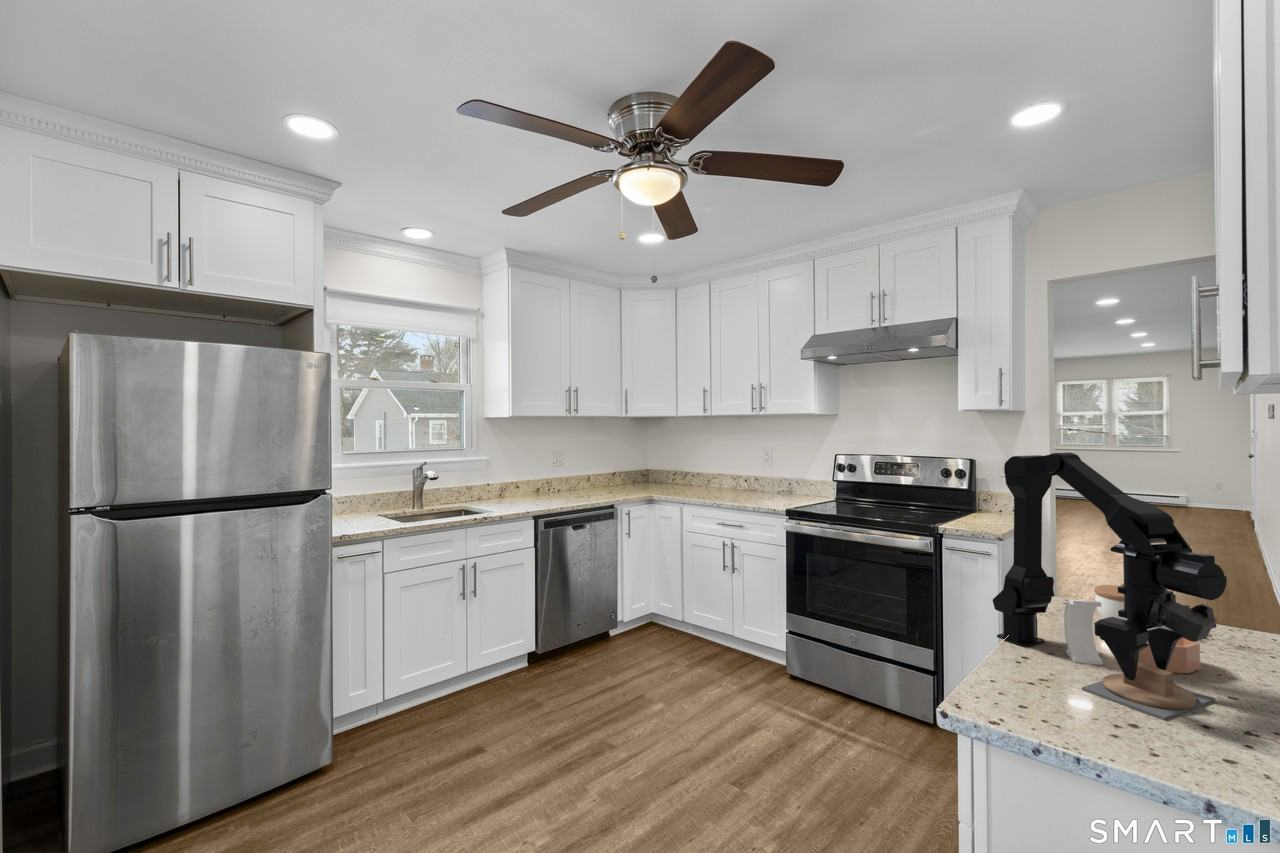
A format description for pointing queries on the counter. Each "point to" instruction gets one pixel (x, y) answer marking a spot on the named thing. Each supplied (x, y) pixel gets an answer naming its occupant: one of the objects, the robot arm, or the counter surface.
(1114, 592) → the lidded jar
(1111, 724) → the counter surface
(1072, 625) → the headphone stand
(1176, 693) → the lid
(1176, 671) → the bowl
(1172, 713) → the mat
